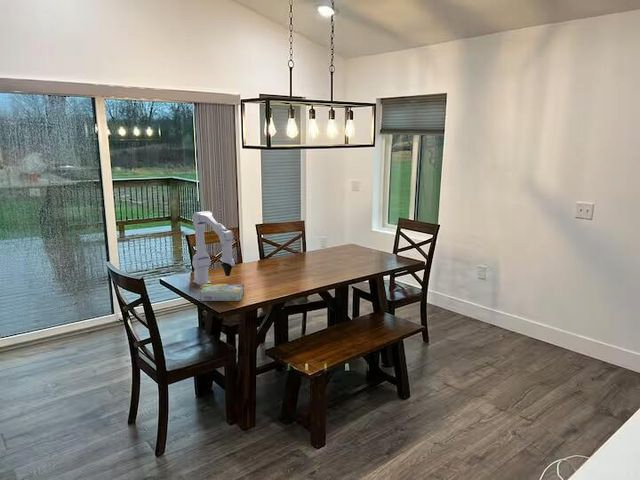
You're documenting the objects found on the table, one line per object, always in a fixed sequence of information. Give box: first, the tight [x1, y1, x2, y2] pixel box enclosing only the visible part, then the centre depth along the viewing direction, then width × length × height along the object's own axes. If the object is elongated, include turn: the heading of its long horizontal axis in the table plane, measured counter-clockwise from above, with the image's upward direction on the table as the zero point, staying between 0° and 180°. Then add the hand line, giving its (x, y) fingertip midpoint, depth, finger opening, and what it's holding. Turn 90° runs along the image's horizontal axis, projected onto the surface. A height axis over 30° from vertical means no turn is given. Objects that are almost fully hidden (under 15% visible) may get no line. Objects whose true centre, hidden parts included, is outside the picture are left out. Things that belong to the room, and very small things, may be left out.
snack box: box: [199, 283, 245, 302], centre depth 254 cm, size 21×6×15 cm
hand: (227, 275), depth 260 cm, fingers closed
